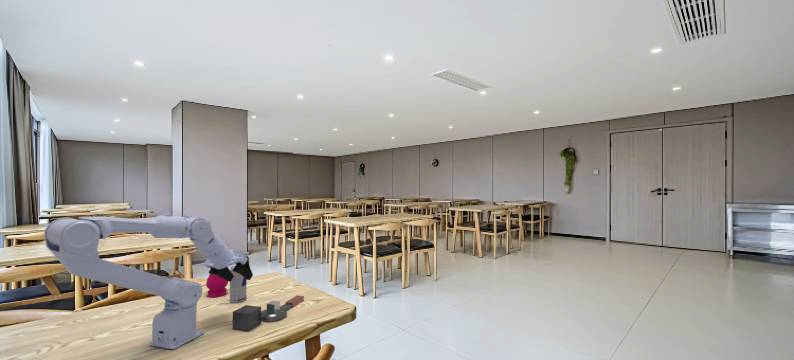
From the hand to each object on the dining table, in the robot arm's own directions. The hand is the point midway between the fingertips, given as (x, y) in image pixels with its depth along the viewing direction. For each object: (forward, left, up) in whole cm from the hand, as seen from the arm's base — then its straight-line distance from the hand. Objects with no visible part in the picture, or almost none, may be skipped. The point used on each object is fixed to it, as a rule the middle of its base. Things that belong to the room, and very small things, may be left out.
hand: (241, 278), depth 103 cm
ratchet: (+8, -11, -12) cm, 18 cm away
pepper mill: (+14, +22, -12) cm, 29 cm away
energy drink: (+11, +10, -12) cm, 19 cm away
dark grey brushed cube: (-6, -8, -12) cm, 15 cm away
